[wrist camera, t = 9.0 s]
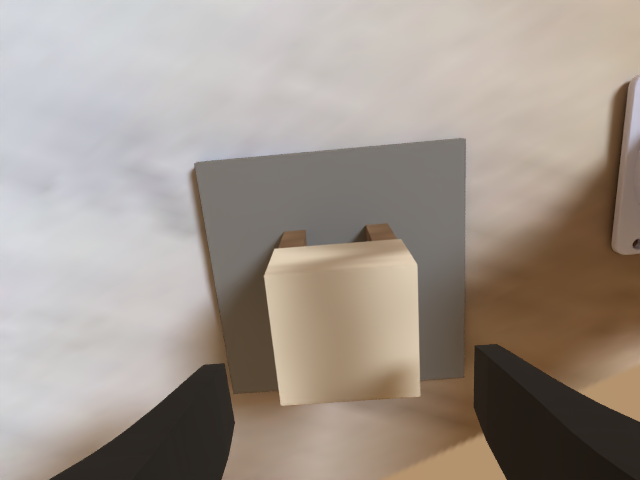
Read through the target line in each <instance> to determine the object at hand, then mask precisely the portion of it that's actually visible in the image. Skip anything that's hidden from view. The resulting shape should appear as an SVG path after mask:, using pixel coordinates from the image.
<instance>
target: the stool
mask: <svg viewBox="0 0 640 480" xmlns="http://www.w3.org/2000/svg"><path fill="white" fill-rule="evenodd" d="M366 235H367V242H355V243H342V244H329V245H316V246H307V239H306V230H296V231H284V234H283V236H282V239H281V242H280V245H279V248H278V249H274V251H273V254H272V256H271V259H270V262H269V264H268V267H267V269H266V272H265V275H264V280H265V288H266V296H267V303H268V311H269V319H270V326H271V334H272V342H273V349H274V357H275V365H276V372H277V380H278V388H279V396H280V403H281V406H284V405H300V404H315V403H330V402H345V401H361V400H376V399H391V398H406V397H420V360H419V314H418V268H417V263H416V261H415V260H414V258H413V257H412V255H411V254H410V252H409V250H408V249H407V247H406V246H405V244H404V243H403V241H402V239H397V238H396V236H395V235H394V233H393V231H392V230H391V228H390V226H389V225H388V223H384V224H372V225H366Z"/></svg>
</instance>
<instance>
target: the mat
mask: <svg viewBox="0 0 640 480" xmlns="http://www.w3.org/2000/svg"><path fill="white" fill-rule="evenodd" d="M194 165H195V170H196V176H197V182H198V188H199V194H200V200H201V206H202V212H203V217H204V223H205V229H206V235H207V241H208V247H209V253H210V258H211V264H212V270H213V276H214V282H215V288H216V294H217V300H218V305H219V311H220V317H221V323H222V329H223V335H224V341H225V347H226V352H227V358H228V364H229V370H230V376H231V382H232V388H233V393H234V394H238V393H252V392H266V391H279V388H278V380H277V372H276V365H275V357H274V349H273V342H272V334H271V326H270V319H269V311H268V303H267V296H266V288H265V280H264V275H265V272H266V269H267V267H268V264H269V262H270V259H271V256H272V254H273V251H274V249H278V248H279V245H280V242H281V239H282V236H283V234H284V231H296V230H306V239H307V246H316V245H329V244H342V243H355V242H367V235H366V225H372V224H384V223H388V225H389V226H390V228H391V230H392V231H393V233H394V235H395V236H396V238H397V239H402V241H403V243H404V244H405V246H406V247H407V249H408V250H409V252H410V254H411V255H412V257H413V258H414V260H415V261H416V263H417V268H418V314H419V360H420V381H422V380H436V379H451V378H464V323H465V178H466V139H463V138H458V139H447V140H436V141H425V142H414V143H403V144H392V145H381V146H370V147H359V148H348V149H337V150H325V151H314V152H303V153H292V154H281V155H270V156H259V157H248V158H237V159H226V160H215V161H204V162H197V163H194Z"/></svg>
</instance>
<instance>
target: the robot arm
mask: <svg viewBox="0 0 640 480" xmlns="http://www.w3.org/2000/svg"><path fill="white" fill-rule="evenodd" d="M636 239H638V243H637V244H636V245H635V246H634V247H633V246H632V244H633V242H634V241H635V240H636ZM611 245H612V249H613V250H614V251H615V252H617V253H619V254H621V255H631V254H640V75H637V76H636V77H634V78H633V79H632V80H631V82H630V83H629V87H628V94H627V104H626V113H625V122H624V132H623V141H622V150H621V159H620V169H619V178H618V187H617V196H616V206H615V215H614V224H613V234H612V243H611ZM474 409H475V412H476V415H477V417H478V420H479V423H480V426H481V428H482V431H483V433H484V436H485V438H486V441H487V443H488V445H489V447H490V449H491V450H492V452H493V454H494V456H495V458H496V460H497V462H498V464H499V466H500V468H501V470H502V471H503V473H504V475H505V477H506V479H507V480H640V422H638V421H636V420H634V419H632V418H630V417H628V416H625V415H623V414H621V413H619V412H617V411H614V410H612V409H610V408H608V407H606V406H604V405H602V404H600V403H598V402H595V401H594V400H592V399H590V398H588V397H586V396H585V395H582V394H581V393H579V392H577V391H575V390H573V389H571V388H570V387H568V386H566V385H564V384H563V383H561V382H559V381H557V380H556V379H554V378H552V377H551V376H549V375H547V374H546V373H544V372H542V371H541V370H539V369H537V368H536V367H534V366H532V365H531V364H529V363H528V362H526V361H524V360H523V359H521V358H519V357H518V356H516V355H515V354H513V353H511V352H510V351H508V350H506V349H505V348H503V347H501V346H499V345H497V344H491V345H477V346H475V359H474ZM234 424H235V421H234V415H233V410H232V404H231V398H230V392H229V387H228V381H227V375H226V369H225V364H209V365H203V366H202V367H201V368H199V369H198V370H197V371H196V372H195V373H193V374H192V375H191V376H190V377H189V378H188V379H187V380H185V381H184V382H183V383H182V384H181V385H180V386H179V387H178V388H176V389H175V390H174V391H173V392H172V393H171V394H170V395H168V396H167V397H166V398H165V399H164V400H163V401H162V402H160V403H159V404H158V405H157V406H156V407H155V408H153V409H152V410H151V411H150V412H148V413H147V414H146V415H145V416H143V417H142V418H141V419H140V420H138V421H137V422H136V423H135V424H133V425H132V426H131V427H130V428H128V429H127V430H126V431H124V432H123V433H122V434H120V435H119V436H118V437H116V438H115V439H113V440H112V441H111V442H109V443H108V444H106V445H105V446H103V447H102V448H100V449H99V450H97V451H96V452H94V453H93V454H91V455H90V456H88V457H86V458H85V459H83V460H82V461H80V462H78V463H76V464H75V465H73V466H71V467H70V468H68V469H66V470H65V471H63V472H61V473H60V474H58V475H56V476H54V477H53V478H51V479H49V480H221V479H222V476H223V473H224V469H225V466H226V463H227V460H228V456H229V451H230V446H231V441H232V436H233V430H234Z"/></svg>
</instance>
